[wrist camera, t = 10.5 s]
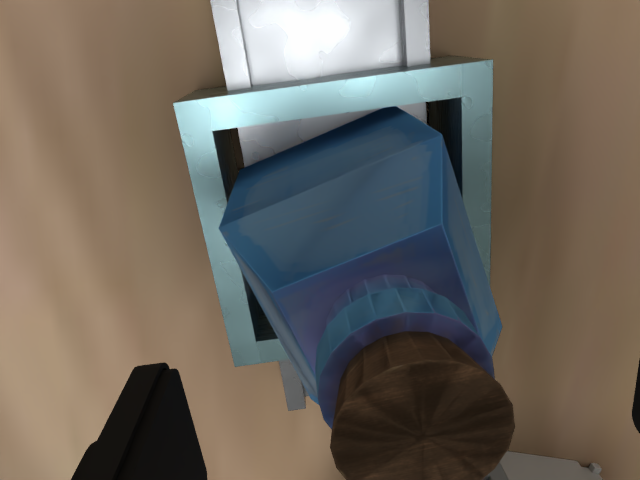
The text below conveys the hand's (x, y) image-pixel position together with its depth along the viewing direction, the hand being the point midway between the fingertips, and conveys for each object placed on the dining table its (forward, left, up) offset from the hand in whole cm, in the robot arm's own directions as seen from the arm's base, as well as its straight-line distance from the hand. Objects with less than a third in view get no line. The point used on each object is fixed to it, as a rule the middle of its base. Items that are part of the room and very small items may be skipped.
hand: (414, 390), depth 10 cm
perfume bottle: (0, 0, -11) cm, 11 cm away
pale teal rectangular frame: (0, 0, -12) cm, 12 cm away
